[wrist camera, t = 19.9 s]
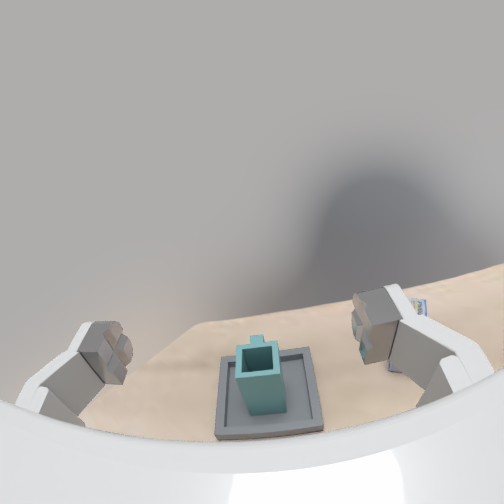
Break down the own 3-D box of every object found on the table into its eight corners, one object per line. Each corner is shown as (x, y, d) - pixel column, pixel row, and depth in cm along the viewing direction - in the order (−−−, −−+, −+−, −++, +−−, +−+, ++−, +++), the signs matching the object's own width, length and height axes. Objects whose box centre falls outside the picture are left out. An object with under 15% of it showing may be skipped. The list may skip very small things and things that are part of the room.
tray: (309, 354, 42) (309, 346, 41) (322, 430, 30) (323, 424, 29) (224, 364, 44) (221, 356, 43) (218, 439, 31) (214, 434, 30)
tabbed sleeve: (283, 376, 39) (276, 332, 34) (286, 412, 33) (280, 373, 28) (250, 380, 39) (236, 337, 34) (250, 416, 34) (235, 378, 29)
